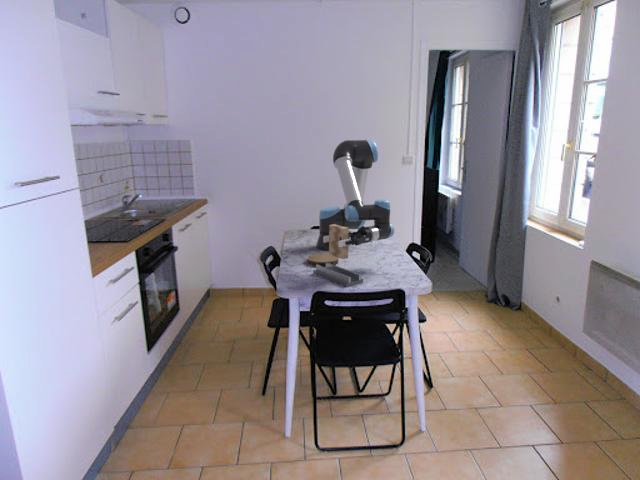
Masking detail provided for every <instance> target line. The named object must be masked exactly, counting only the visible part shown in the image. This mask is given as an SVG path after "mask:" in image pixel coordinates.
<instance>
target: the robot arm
mask: <svg viewBox="0 0 640 480" xmlns="http://www.w3.org/2000/svg"><path fill="white" fill-rule="evenodd" d="M378 158H379V150H378V146H377V144H376V142H375V141H374V140H370V139H369V140H367V139H364V140H363V139H358V140H350V139H349V140H347V139H346V140H343V141H341V142H340V143H339V144H338V145H337V146H336V147H335V149H334V152H333V156H332V162H333V166H334V168H335V169H337V173H338V177H339V179H340V182H341V183H340V184H341V188H342V190H343V194H344V197H345V202H346V203H345V204H344V205H343V208H340V207H339V206H327V207H324V208H322V209H320V211H319V216H318V218H319V219H318V220H319V222H318V223H319V224H318V225H319V235H318V238H317V241H316V248H317V249H318V250H321V251H329V225H333V224H335V225H339V226H343V227H347V228H349V229H357V231H353V232H351V231H349V237H348V239H346V240H341V241H339V247H343V246H348V247H349V246H350V245H352V246H354V245H355V246H360V245H362V244H368V243H373V242H377V241H382V240H387V239H390V238H392V237H393V236H394V234H395V228H394V225H393V224H391V223H390V222H391V221H390V217H391V202H390V200H387V199H376V200H375V201H374V203H373V204H364V195H365V190H366V186H367V185H366V184H367V178H368V176H369V175H368V174H369V170H370V169H371V168H372V167H373V163H377V162H378ZM366 221H373V223H374V224H373V225H370V226H365V224H366ZM364 226H365V227H364Z"/></svg>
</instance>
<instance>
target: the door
mask: <svg viewBox="0 0 640 480" xmlns="http://www.w3.org/2000/svg"><path fill="white" fill-rule="evenodd" d="M349 229H350V228H347V227H343V226H339V225H335V224H333V225H329V250H328V251H329V252H328V254H329V255H332V256H335V257H338V259H341V260H345V259H346V260H347V259H349V245H348V246H343V247H339V241H341V240H346V239H348V237H349Z"/></svg>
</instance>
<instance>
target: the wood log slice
mask: <svg viewBox="0 0 640 480" xmlns="http://www.w3.org/2000/svg"><path fill="white" fill-rule="evenodd" d="M306 259H307V261H306V262H307V264H308V265H309V266H311V265H312V266H311V267H315V266H316V265H320V266H322V267H325V268H326V263H330V264H333V265H336V264H337V265H338V264H339V258H338V257H335V256H332V255H329V253H324V252H322V253H313V254H310V255H308V256H307V258H306ZM337 265H336V266H337Z"/></svg>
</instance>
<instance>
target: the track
mask: <svg viewBox="0 0 640 480" xmlns="http://www.w3.org/2000/svg"><path fill="white" fill-rule="evenodd" d="M312 273H313V275H315V274H316V276H318V277H320V276H321V277H320V278H323V279H325V280H327V281H329V282H333V283H335V284H338V285H340V286H343V287H345V288H349V287H352V286H355V285H358V284H362V283H364V278H361V277H362V275H361V274H360V273H357V272H355V271H352V270H349V269H346V268H343V267H341V266H338V265H333V264H330V263H326V267H322V266H320V265H316V267H315V269H314V270H313V271H312Z"/></svg>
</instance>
